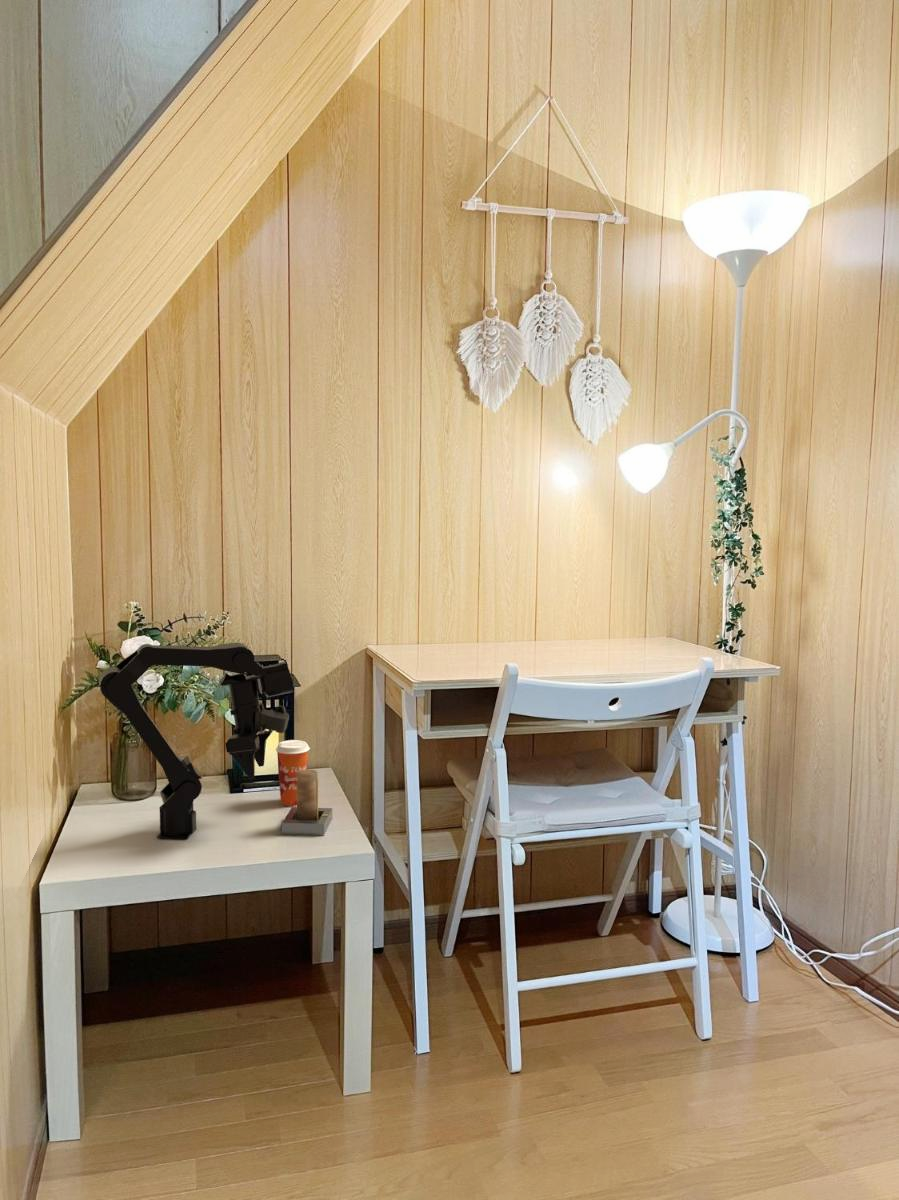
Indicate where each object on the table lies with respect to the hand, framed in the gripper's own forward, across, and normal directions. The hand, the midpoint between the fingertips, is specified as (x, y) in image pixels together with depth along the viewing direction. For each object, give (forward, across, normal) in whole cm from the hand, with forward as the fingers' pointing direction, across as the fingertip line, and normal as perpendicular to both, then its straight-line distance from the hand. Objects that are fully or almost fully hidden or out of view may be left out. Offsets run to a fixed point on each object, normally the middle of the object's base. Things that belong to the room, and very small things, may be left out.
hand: (256, 772), depth 203 cm
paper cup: (+13, +16, -3) cm, 20 cm away
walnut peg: (+13, 0, -9) cm, 16 cm away
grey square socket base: (+13, 0, -9) cm, 16 cm away
